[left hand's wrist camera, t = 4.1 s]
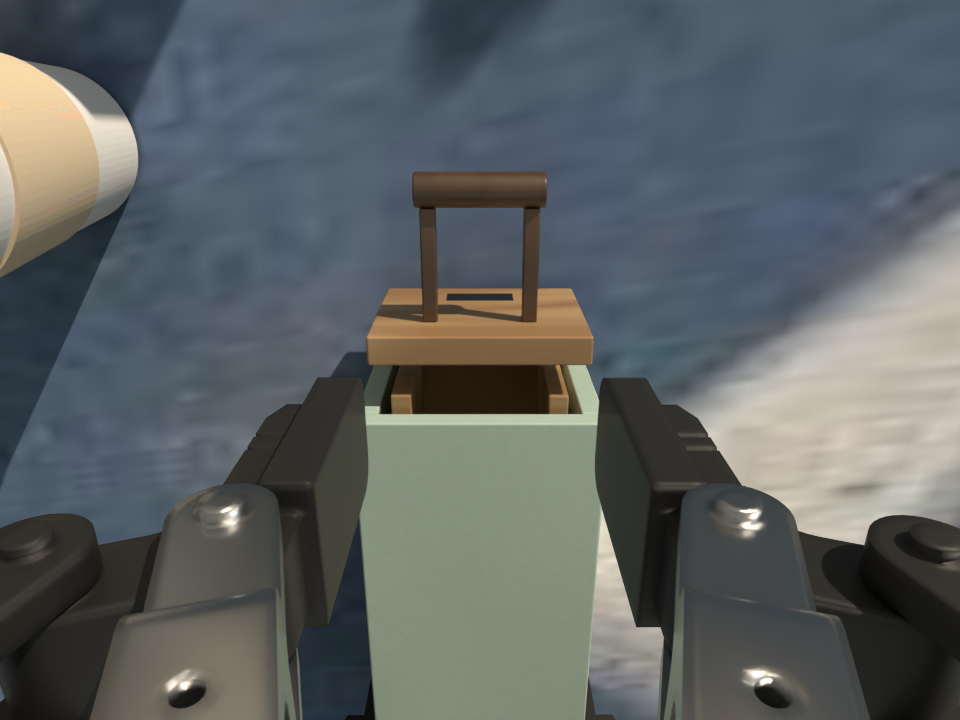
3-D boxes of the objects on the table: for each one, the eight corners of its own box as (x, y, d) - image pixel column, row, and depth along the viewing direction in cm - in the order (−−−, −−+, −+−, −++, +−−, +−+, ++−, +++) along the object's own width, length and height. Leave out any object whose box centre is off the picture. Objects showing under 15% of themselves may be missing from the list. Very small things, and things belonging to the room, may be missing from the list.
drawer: (381, 159, 30) (354, 178, 24) (578, 159, 30) (604, 178, 24) (405, 622, 40) (391, 724, 33) (554, 622, 40) (568, 724, 33)
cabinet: (381, 344, 34) (350, 423, 26) (578, 344, 34) (608, 423, 26) (400, 667, 42) (381, 804, 34) (559, 667, 42) (578, 804, 34)
